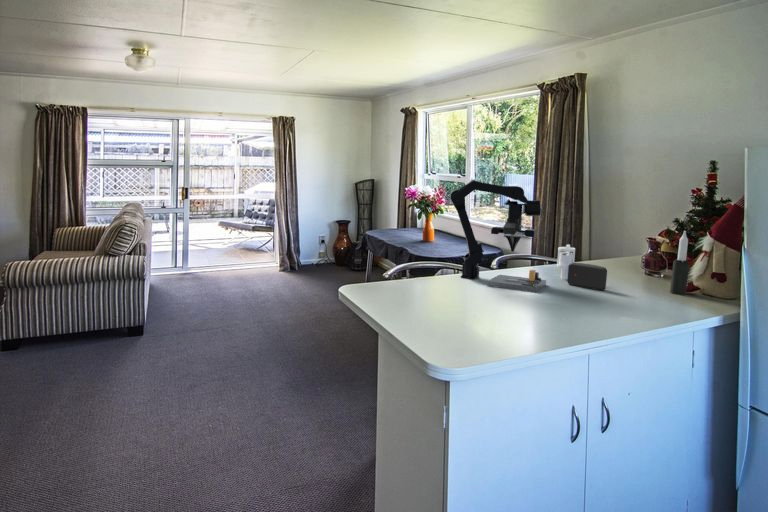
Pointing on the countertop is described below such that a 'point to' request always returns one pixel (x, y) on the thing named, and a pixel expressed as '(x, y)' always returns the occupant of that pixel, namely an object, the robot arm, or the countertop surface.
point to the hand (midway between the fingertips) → (512, 251)
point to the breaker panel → (517, 283)
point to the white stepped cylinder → (565, 260)
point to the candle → (680, 268)
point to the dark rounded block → (587, 276)
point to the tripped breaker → (532, 277)
